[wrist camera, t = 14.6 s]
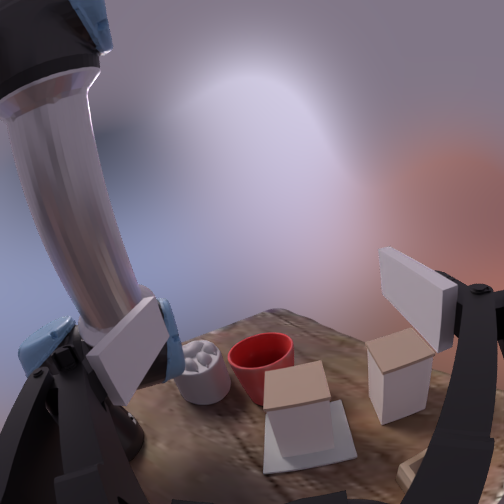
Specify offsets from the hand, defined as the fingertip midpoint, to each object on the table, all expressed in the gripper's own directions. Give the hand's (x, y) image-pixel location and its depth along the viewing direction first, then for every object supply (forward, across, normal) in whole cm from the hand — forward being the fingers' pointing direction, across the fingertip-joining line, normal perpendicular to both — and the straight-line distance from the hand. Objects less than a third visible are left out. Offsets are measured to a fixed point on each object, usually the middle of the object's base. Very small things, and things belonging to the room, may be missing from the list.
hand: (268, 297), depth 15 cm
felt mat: (+12, 0, -27) cm, 30 cm away
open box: (-1, +12, -27) cm, 29 cm away
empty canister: (+14, +14, -27) cm, 33 cm away
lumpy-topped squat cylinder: (+28, -19, -28) cm, 44 cm away
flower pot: (+24, -5, -28) cm, 37 cm away
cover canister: (+11, 0, -27) cm, 29 cm away
